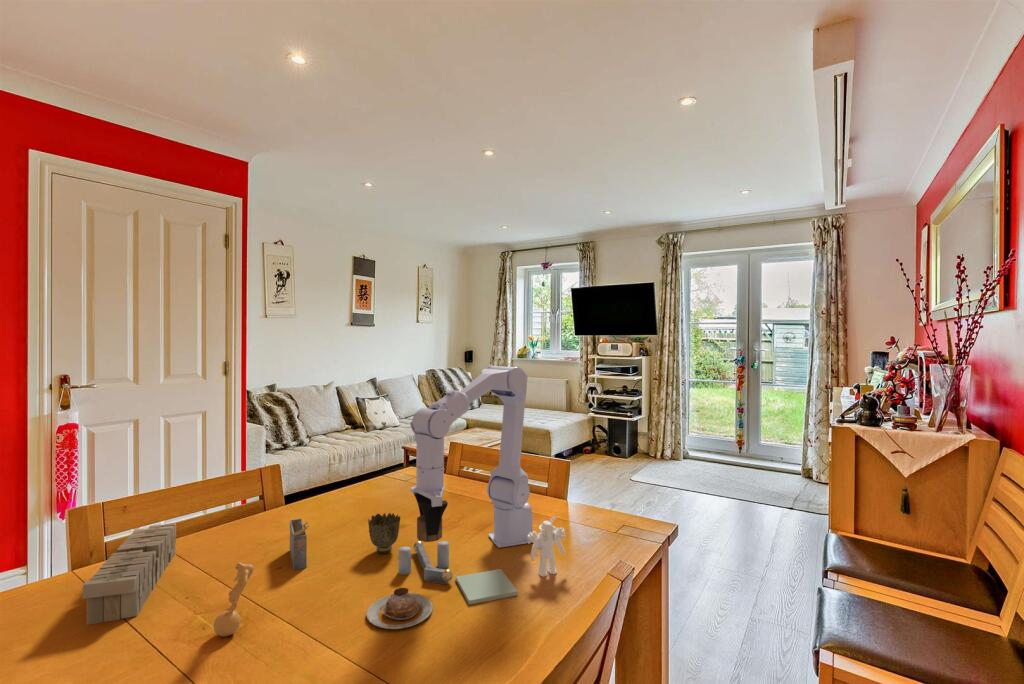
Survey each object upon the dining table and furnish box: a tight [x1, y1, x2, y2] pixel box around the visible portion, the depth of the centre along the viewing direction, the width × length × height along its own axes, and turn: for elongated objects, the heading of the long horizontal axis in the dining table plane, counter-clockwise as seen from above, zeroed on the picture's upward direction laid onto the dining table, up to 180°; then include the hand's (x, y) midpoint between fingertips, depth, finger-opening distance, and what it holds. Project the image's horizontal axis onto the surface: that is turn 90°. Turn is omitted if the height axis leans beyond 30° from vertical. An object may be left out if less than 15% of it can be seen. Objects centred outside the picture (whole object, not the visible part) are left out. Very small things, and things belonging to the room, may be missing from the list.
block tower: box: [82, 522, 177, 626], centre depth 101 cm, size 8×8×29 cm
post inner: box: [436, 540, 450, 569], centre depth 111 cm, size 3×3×5 cm
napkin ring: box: [416, 515, 443, 543], centre depth 104 cm, size 5×5×4 cm
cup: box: [367, 512, 401, 555], centre depth 118 cm, size 8×7×8 cm
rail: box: [413, 540, 454, 586], centre depth 110 cm, size 6×19×3 cm, turn 21°
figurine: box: [213, 562, 254, 637], centre depth 85 cm, size 8×6×12 cm
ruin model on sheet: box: [289, 518, 309, 571], centre depth 114 cm, size 11×3×10 cm, turn 28°
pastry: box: [366, 587, 434, 630], centre depth 92 cm, size 12×12×5 cm
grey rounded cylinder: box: [398, 546, 412, 576], centre depth 108 cm, size 3×3×5 cm
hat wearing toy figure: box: [527, 514, 567, 578], centre depth 108 cm, size 9×4×12 cm, turn 112°
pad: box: [455, 568, 518, 605], centre depth 101 cm, size 10×10×1 cm
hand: (429, 529), depth 104 cm, fingers closed on napkin ring, 5 cm apart
